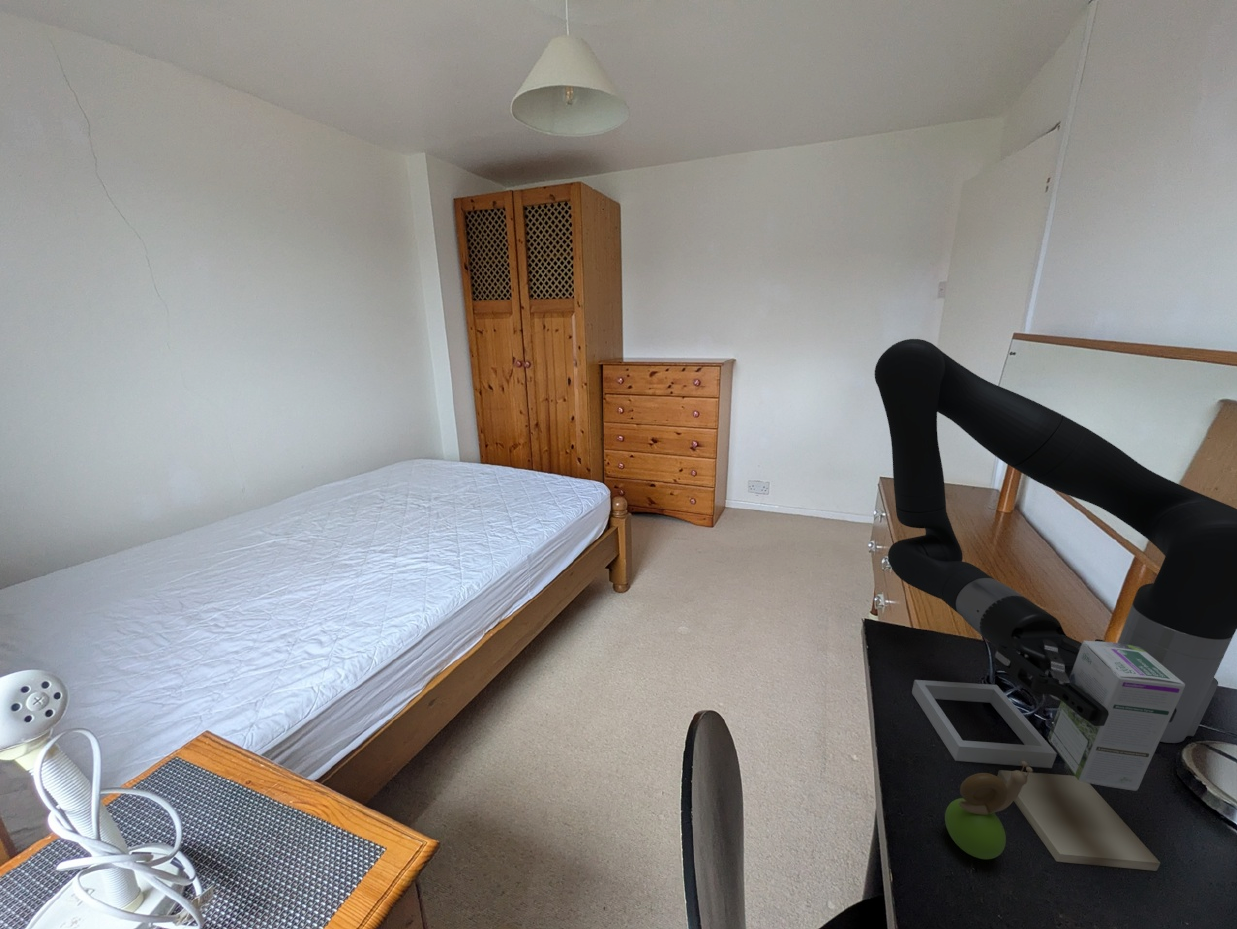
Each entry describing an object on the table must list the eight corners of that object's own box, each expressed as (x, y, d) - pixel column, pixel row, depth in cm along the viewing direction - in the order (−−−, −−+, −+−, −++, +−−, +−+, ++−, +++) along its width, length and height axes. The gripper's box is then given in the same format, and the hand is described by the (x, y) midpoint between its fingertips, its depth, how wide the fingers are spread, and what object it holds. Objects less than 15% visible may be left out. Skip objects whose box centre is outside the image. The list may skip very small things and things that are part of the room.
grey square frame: (992, 697, 74) (996, 684, 74) (1051, 768, 63) (1057, 753, 62) (911, 692, 76) (914, 679, 75) (955, 760, 64) (959, 746, 63)
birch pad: (1080, 783, 61) (1083, 776, 61) (1156, 870, 52) (1160, 862, 51) (996, 776, 62) (999, 769, 62) (1056, 861, 52) (1059, 853, 52)
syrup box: (1139, 793, 51) (1192, 684, 46) (1075, 782, 52) (1120, 675, 48) (1100, 747, 56) (1144, 645, 52) (1043, 738, 58) (1081, 637, 53)
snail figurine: (1021, 872, 52) (1051, 789, 48) (960, 871, 52) (986, 788, 48) (984, 820, 57) (1010, 742, 53) (930, 820, 57) (951, 742, 53)
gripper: (960, 596, 63) (1083, 692, 48) (1063, 592, 64) (1217, 685, 49) (948, 643, 66) (1061, 749, 50) (1047, 638, 67) (1188, 742, 51)
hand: (1137, 717), depth 49 cm, fingers closed on syrup box, 7 cm apart
